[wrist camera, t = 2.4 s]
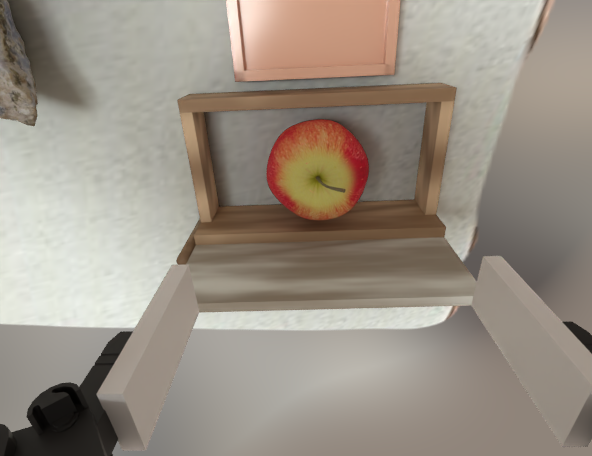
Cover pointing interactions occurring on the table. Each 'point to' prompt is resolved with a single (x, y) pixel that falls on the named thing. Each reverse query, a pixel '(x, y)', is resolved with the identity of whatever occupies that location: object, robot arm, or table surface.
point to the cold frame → (323, 223)
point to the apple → (317, 169)
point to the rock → (15, 73)
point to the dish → (312, 38)
